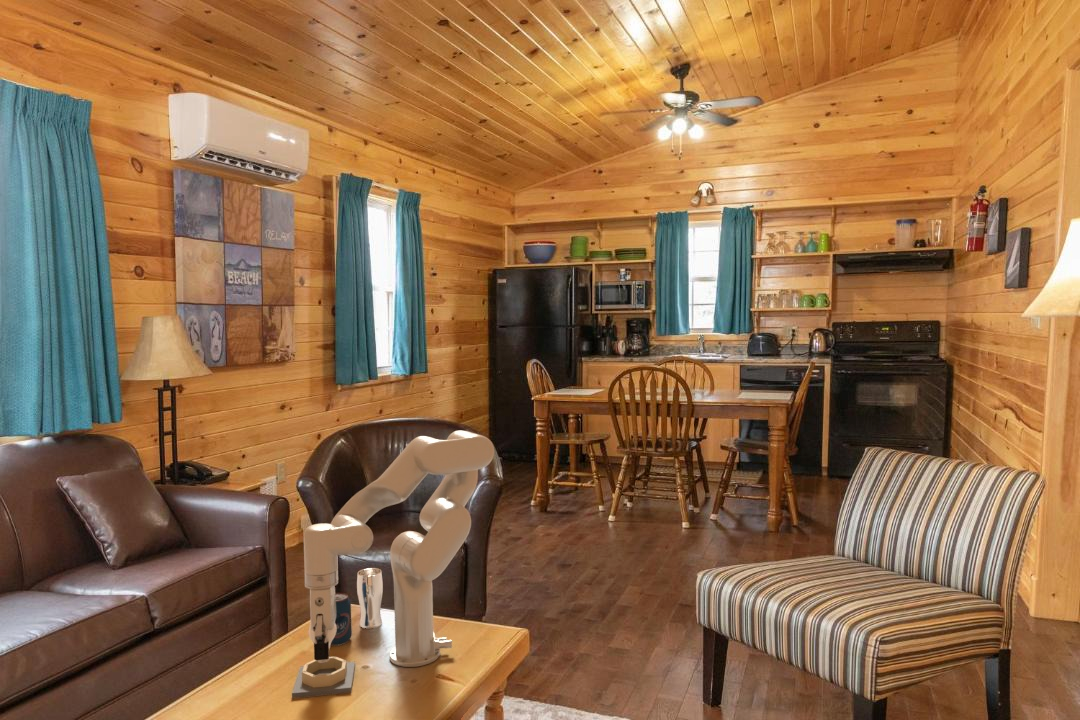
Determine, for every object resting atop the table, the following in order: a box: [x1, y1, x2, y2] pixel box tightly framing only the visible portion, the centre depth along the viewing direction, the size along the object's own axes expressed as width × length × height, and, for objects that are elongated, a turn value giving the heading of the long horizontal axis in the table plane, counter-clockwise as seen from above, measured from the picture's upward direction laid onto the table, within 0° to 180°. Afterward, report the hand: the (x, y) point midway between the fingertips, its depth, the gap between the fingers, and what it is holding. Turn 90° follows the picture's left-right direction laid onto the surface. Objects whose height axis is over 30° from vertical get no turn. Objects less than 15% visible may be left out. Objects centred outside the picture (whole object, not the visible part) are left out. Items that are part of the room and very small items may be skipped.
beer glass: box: [356, 567, 384, 630], centre depth 207 cm, size 7×7×15 cm
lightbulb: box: [308, 623, 337, 664], centre depth 174 cm, size 6×6×11 cm
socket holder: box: [291, 656, 356, 699], centre depth 175 cm, size 13×13×4 cm
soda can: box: [332, 592, 353, 647], centre depth 196 cm, size 7×7×12 cm
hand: (323, 652), depth 174 cm, fingers closed on lightbulb, 5 cm apart
